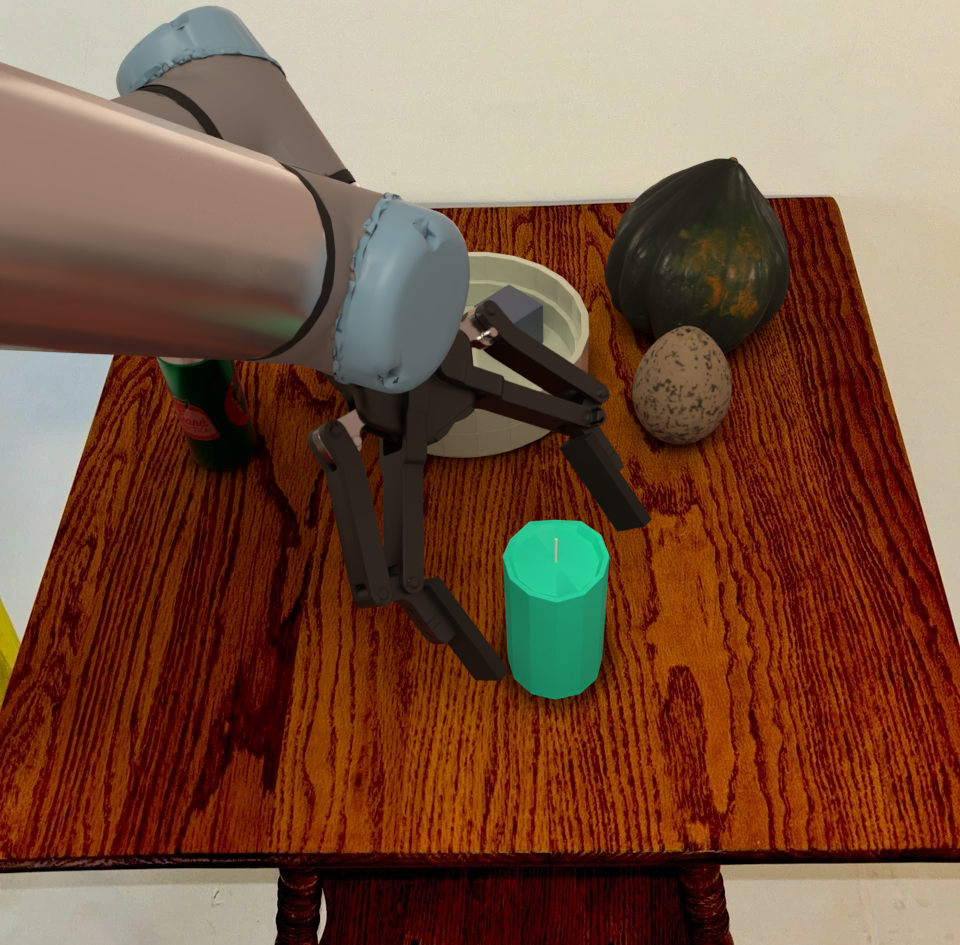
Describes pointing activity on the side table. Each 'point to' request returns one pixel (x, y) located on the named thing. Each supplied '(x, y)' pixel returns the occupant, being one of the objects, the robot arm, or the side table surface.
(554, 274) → the bowl
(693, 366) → the decorative egg
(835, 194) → the side table surface
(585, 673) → the candle
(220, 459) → the soda can
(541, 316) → the block
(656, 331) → the squash
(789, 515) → the side table surface
